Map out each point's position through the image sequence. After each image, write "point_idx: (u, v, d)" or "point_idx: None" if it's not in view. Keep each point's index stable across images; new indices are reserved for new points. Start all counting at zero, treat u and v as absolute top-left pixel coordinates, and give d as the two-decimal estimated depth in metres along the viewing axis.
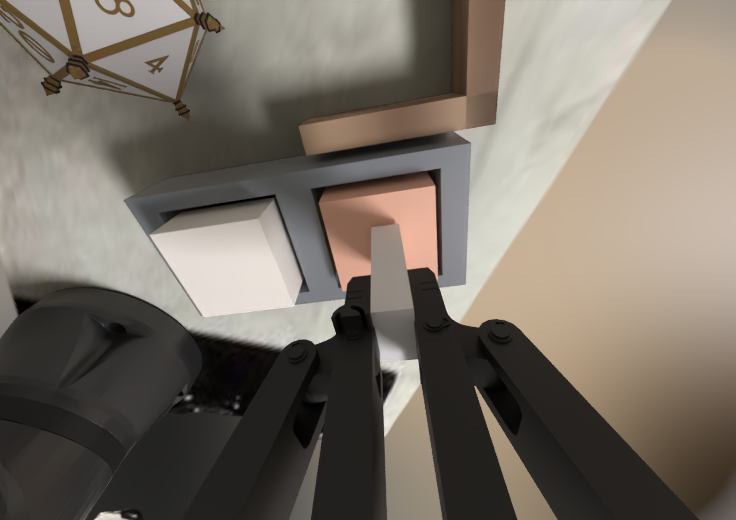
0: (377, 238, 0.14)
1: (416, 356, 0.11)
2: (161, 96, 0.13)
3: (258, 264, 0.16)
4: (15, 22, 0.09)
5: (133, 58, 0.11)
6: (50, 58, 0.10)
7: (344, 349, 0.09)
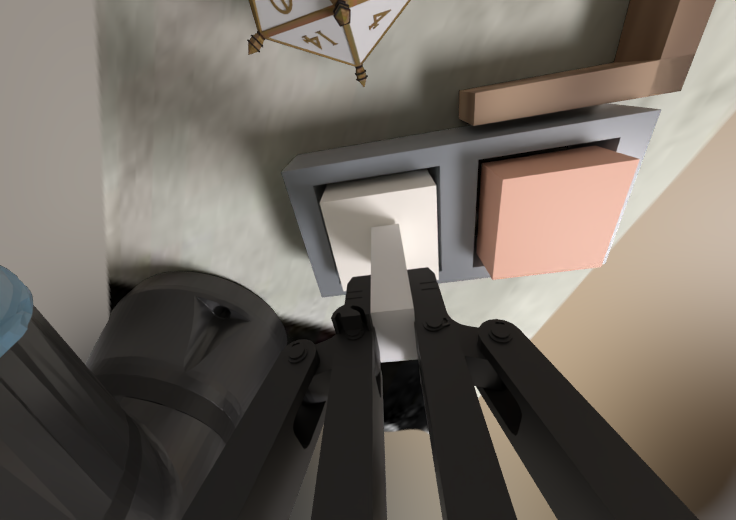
0: (377, 238, 0.14)
1: (416, 356, 0.11)
2: (356, 57, 0.12)
3: (418, 234, 0.16)
4: None
5: (370, 9, 0.10)
6: (288, 8, 0.10)
7: (344, 349, 0.09)
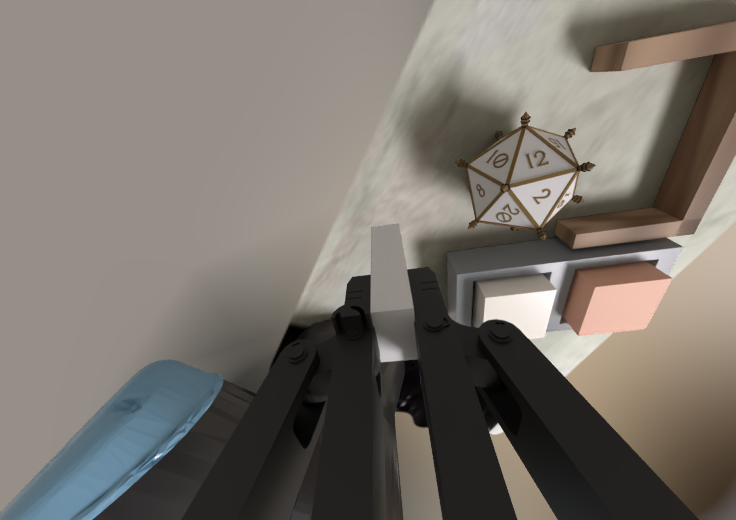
0: (377, 238, 0.14)
1: (416, 356, 0.11)
2: None
3: (539, 313, 0.26)
4: (512, 212, 0.19)
5: None
6: (506, 221, 0.20)
7: (344, 349, 0.09)
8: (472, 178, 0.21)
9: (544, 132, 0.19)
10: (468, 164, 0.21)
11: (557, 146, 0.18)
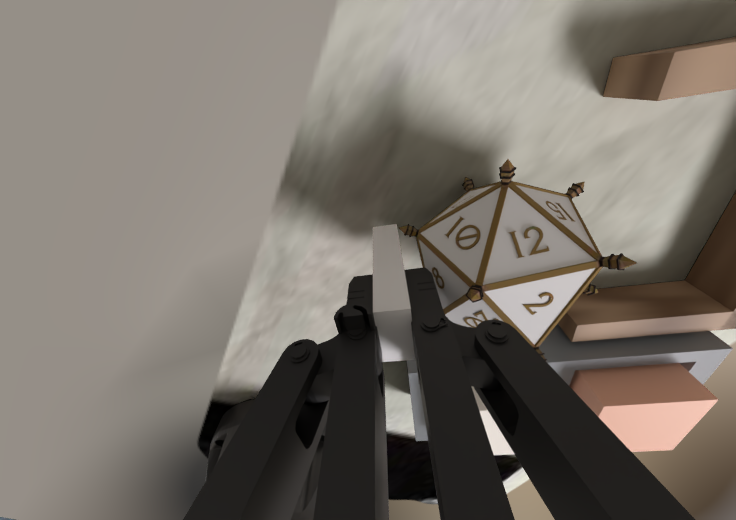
0: (379, 238, 0.14)
1: (414, 356, 0.11)
2: None
3: None
4: None
5: None
6: None
7: (347, 349, 0.09)
8: (426, 255, 0.13)
9: (538, 191, 0.11)
10: (419, 233, 0.13)
11: (561, 217, 0.11)
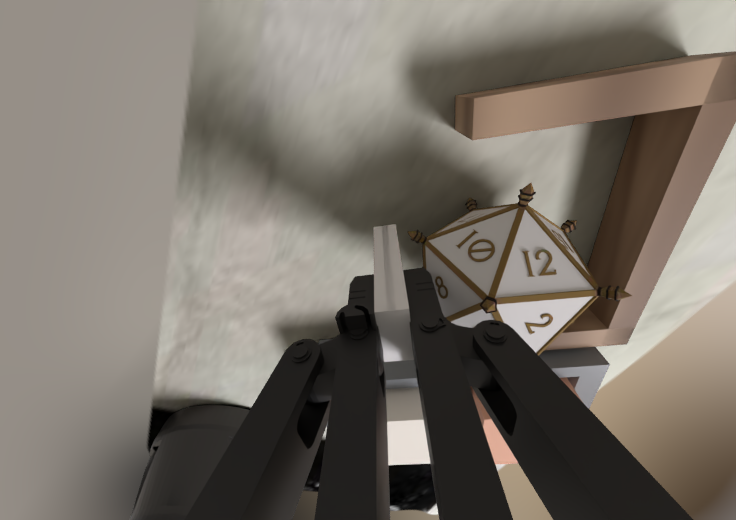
0: (380, 238, 0.14)
1: (412, 356, 0.11)
2: None
3: (418, 441, 0.19)
4: None
5: None
6: None
7: (348, 349, 0.09)
8: (431, 263, 0.13)
9: (544, 219, 0.12)
10: (427, 240, 0.13)
11: (565, 246, 0.11)
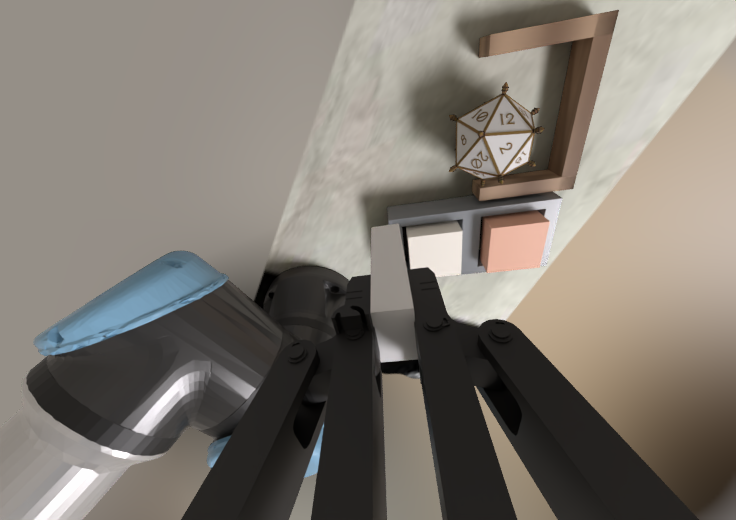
0: (377, 238, 0.14)
1: (416, 356, 0.11)
2: None
3: (452, 252, 0.32)
4: (483, 158, 0.26)
5: None
6: (477, 167, 0.27)
7: (344, 349, 0.09)
8: (459, 130, 0.27)
9: (516, 103, 0.25)
10: (458, 119, 0.27)
11: (523, 114, 0.25)
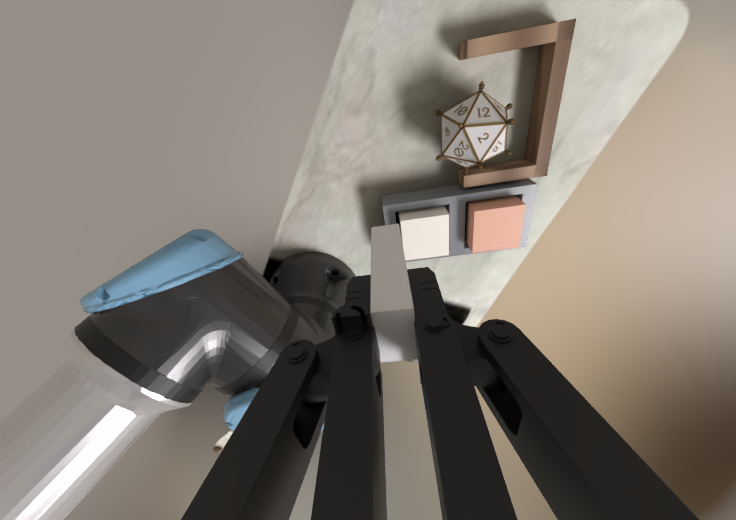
0: (377, 238, 0.14)
1: (416, 356, 0.11)
2: (469, 167, 0.33)
3: (440, 234, 0.36)
4: (464, 147, 0.29)
5: None
6: (460, 155, 0.30)
7: (344, 349, 0.09)
8: (443, 123, 0.31)
9: (492, 99, 0.29)
10: (442, 113, 0.31)
11: (498, 108, 0.28)
